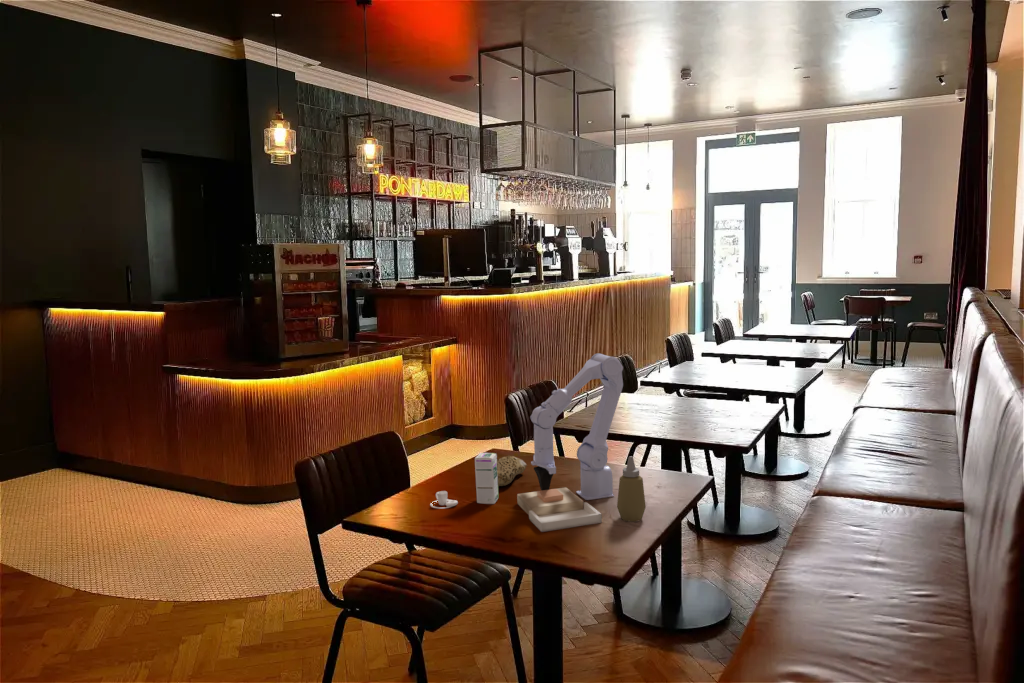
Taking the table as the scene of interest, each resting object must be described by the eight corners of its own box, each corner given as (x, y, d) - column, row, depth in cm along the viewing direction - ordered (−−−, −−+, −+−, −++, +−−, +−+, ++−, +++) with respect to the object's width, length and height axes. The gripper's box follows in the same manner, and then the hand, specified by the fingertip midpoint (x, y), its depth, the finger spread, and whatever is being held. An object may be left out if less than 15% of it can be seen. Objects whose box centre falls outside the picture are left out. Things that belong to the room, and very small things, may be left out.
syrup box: (495, 504, 218) (493, 457, 217) (476, 503, 220) (474, 457, 218) (498, 497, 224) (497, 452, 222) (480, 497, 225) (478, 452, 223)
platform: (566, 496, 223) (566, 487, 223) (583, 510, 211) (583, 500, 211) (517, 503, 218) (517, 494, 218) (531, 518, 206) (531, 508, 206)
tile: (555, 493, 218) (555, 488, 217) (563, 499, 212) (563, 494, 212) (537, 496, 216) (537, 491, 216) (544, 502, 210) (544, 497, 210)
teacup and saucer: (461, 507, 218) (461, 494, 217) (437, 512, 214) (437, 499, 213) (449, 499, 226) (448, 486, 225) (425, 504, 222) (425, 491, 221)
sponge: (502, 473, 253) (467, 477, 236) (507, 451, 253) (473, 454, 236) (533, 486, 246) (499, 491, 229) (538, 464, 245) (505, 467, 228)
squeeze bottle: (611, 516, 206) (610, 455, 204) (635, 511, 209) (635, 451, 207) (626, 525, 198) (626, 462, 196) (651, 520, 202) (651, 458, 199)
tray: (586, 510, 211) (586, 502, 211) (601, 522, 201) (601, 514, 201) (529, 519, 205) (528, 510, 205) (541, 532, 196) (541, 523, 195)
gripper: (523, 442, 222) (524, 484, 223) (539, 454, 208) (540, 499, 210) (544, 439, 224) (545, 482, 226) (562, 451, 210) (563, 496, 212)
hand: (544, 490), depth 218 cm, fingers closed
